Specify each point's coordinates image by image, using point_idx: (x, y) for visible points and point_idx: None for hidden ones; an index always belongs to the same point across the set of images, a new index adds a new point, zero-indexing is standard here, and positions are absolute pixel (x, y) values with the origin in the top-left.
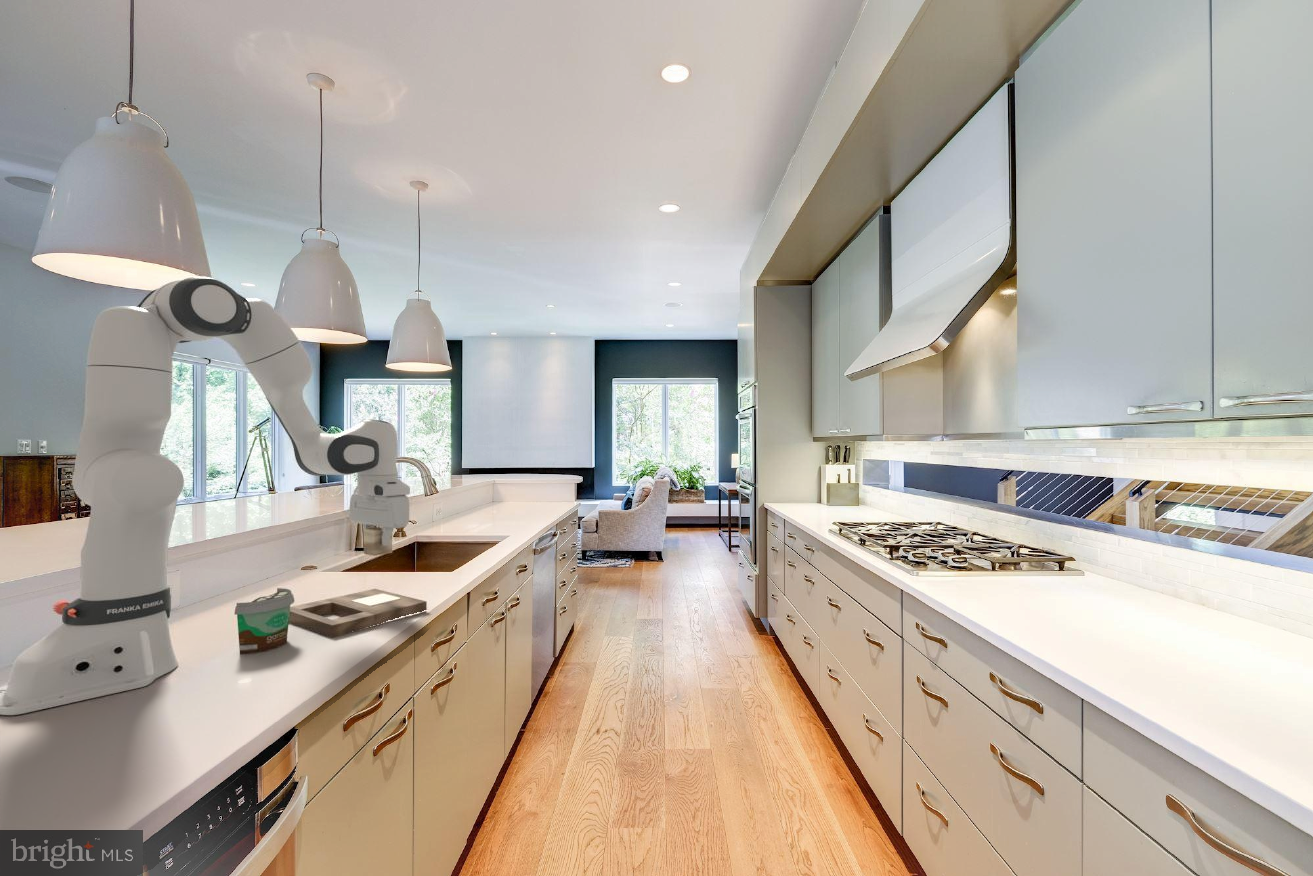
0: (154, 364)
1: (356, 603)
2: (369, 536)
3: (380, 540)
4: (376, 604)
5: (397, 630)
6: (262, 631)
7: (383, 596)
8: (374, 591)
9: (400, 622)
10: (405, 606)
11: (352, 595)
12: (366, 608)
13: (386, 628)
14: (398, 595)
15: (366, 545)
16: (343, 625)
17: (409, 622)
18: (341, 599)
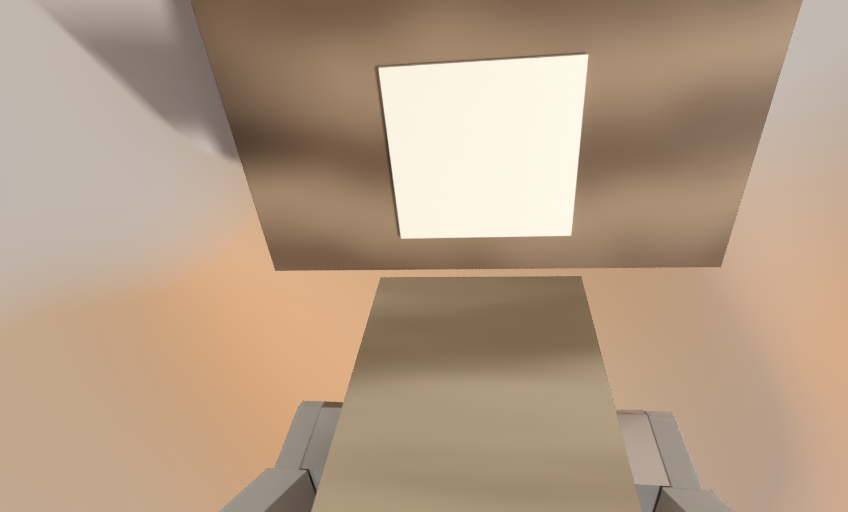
0: None
1: (510, 50)
2: (460, 446)
3: None
4: (385, 108)
5: (85, 30)
6: None
7: (509, 207)
8: (669, 237)
9: (206, 104)
10: (252, 178)
11: (713, 126)
12: (353, 34)
13: (146, 12)
14: (477, 259)
15: (535, 343)
16: None
17: (182, 128)
18: (693, 34)
